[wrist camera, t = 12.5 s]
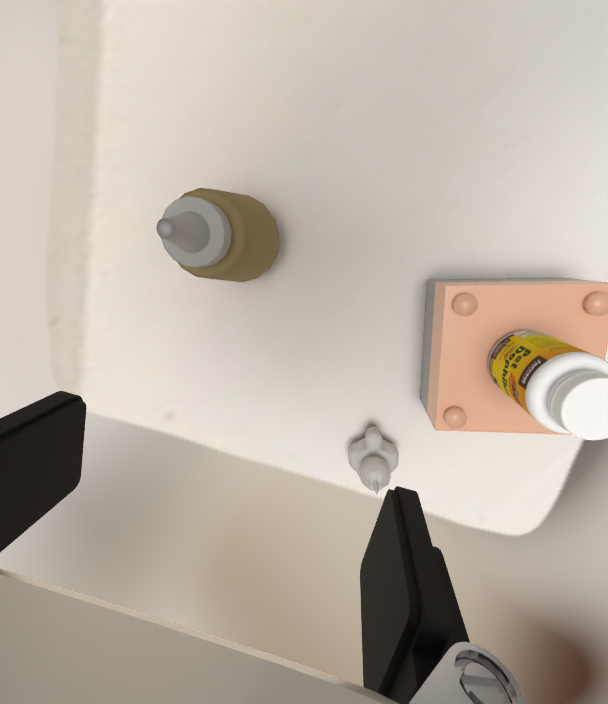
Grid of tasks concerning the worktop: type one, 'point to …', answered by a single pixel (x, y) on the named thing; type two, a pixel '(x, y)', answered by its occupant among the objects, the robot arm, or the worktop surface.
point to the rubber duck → (373, 459)
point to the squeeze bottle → (220, 235)
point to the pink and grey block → (486, 331)
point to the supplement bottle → (553, 382)
